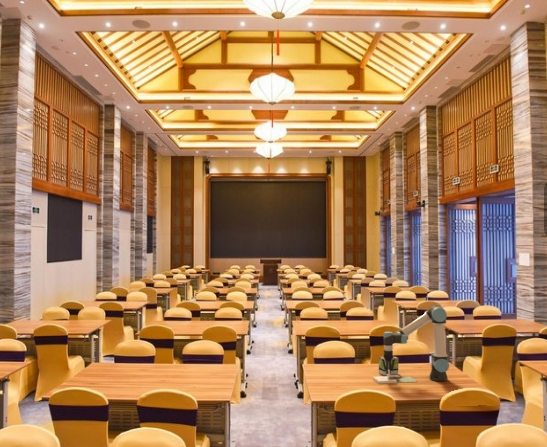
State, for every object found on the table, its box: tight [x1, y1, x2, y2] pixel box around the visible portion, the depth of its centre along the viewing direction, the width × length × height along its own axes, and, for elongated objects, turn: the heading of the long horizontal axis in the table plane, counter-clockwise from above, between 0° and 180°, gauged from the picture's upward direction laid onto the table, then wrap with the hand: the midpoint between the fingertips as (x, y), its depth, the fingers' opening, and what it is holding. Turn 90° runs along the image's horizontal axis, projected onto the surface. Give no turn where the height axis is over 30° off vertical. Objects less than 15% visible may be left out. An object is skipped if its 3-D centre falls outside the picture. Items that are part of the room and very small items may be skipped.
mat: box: [395, 376, 418, 384], centre depth 419 cm, size 18×14×1 cm
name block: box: [389, 374, 402, 379], centre depth 417 cm, size 9×6×2 cm, turn 100°
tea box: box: [378, 355, 399, 376], centre depth 440 cm, size 15×10×15 cm, turn 112°
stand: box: [372, 375, 397, 385], centre depth 416 cm, size 16×14×2 cm
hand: (388, 377), depth 416 cm, fingers closed
